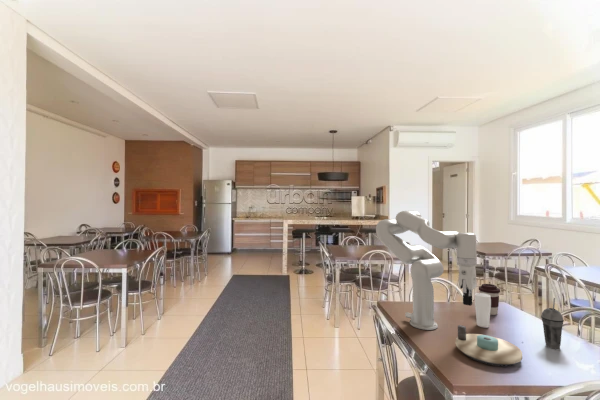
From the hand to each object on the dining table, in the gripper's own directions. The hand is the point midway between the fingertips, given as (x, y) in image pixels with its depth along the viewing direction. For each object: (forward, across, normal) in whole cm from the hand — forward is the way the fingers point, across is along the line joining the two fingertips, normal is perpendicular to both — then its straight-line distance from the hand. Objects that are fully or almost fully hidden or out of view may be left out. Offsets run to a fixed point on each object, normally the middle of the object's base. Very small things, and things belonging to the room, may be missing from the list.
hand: (467, 304), depth 129 cm
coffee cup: (+16, +47, 0) cm, 50 cm away
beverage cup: (+16, +18, -27) cm, 36 cm away
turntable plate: (+14, -7, -8) cm, 18 cm away
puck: (+13, -8, -8) cm, 17 cm away
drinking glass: (+16, +24, -1) cm, 29 cm away
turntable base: (+16, -7, -8) cm, 19 cm away
